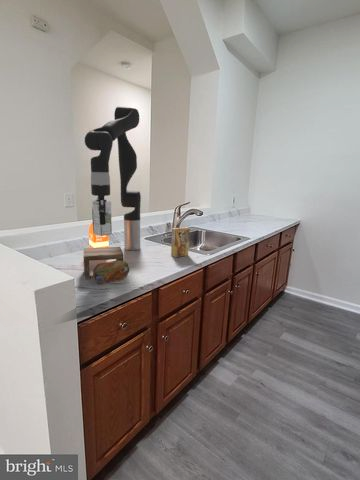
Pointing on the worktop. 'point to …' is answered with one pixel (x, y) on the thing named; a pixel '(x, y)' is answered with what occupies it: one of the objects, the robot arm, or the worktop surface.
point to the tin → (110, 271)
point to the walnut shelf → (100, 256)
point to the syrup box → (97, 228)
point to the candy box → (180, 242)
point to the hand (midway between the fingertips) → (102, 222)
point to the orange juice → (97, 239)
